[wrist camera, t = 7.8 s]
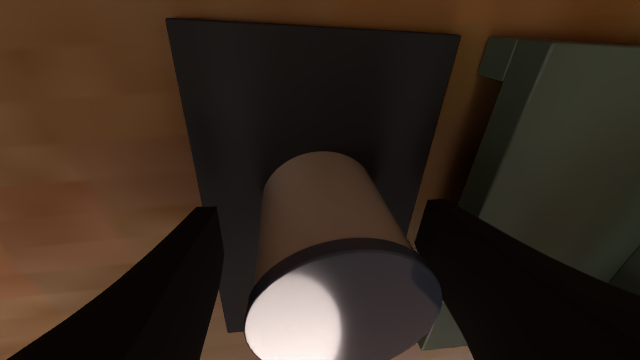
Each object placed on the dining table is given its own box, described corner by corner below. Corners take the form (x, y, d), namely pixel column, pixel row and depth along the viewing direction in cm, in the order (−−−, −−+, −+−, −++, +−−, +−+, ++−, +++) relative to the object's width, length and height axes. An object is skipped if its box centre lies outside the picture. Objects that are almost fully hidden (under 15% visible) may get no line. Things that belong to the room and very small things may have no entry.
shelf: (538, 294, 17) (613, 374, 13) (402, 307, 16) (441, 398, 12) (707, 48, 10) (967, 66, 6) (488, 35, 9) (645, 48, 5)
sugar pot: (369, 243, 12) (417, 365, 8) (261, 249, 12) (250, 385, 7) (387, 145, 10) (471, 244, 6) (253, 146, 9) (232, 257, 5)
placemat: (380, 309, 16) (383, 318, 15) (229, 322, 15) (227, 333, 14) (451, 33, 9) (462, 34, 8) (171, 17, 8) (164, 18, 7)
